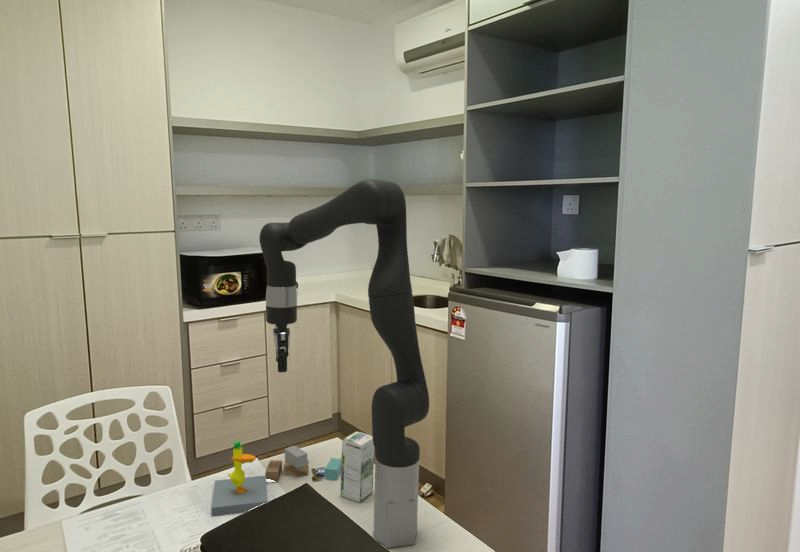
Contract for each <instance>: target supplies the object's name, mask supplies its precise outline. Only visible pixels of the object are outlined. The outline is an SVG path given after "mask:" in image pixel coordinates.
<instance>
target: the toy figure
mask: <svg viewBox="0 0 800 552" xmlns="http://www.w3.org/2000/svg"><path fill="white" fill-rule="evenodd" d="M232 450H233V452H232V453H233V454H232V457H231V458H230V460H231V461H233V465H234V470H233V472H232V473H231V472H230V473H229V472H228V473H227V475H228V476H229V479H232V483H233V484H234V485H235V486H236V487H237V491H236V493H239V494H243V493H244V492H245V491H246V488H245V487H241V486H242V484H243V483H244V481H245V477H246V476H245V475H246V473H245V471H244V470H243V469H242V468H243V467H242V466H243V463H249V464H250V463H253V462H254V461H256V458H257V457H256V456H255V455H253V454H249V453H243V444H241V441H239V440H237V441H233V446H232Z"/></svg>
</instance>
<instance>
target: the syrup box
mask: <svg viewBox="0 0 800 552" xmlns="http://www.w3.org/2000/svg"><path fill="white" fill-rule="evenodd" d="M341 459H342V463H341V472H340V493H339V495H340V496H341V497H342V498H344V499H345V498H346V499H348V500H352V501H354V502H357V503H361V502H362V501H364V500H365V499H366V498H367V497H368V496H370V495H371V494H372V493H374V492H373V489H374V471H375V467H374V466H375V447H374V444H373V438H372V435H371V434H367V433H366V432H365V433H364V432H362V431H354V432H353V433H351V434H350V435H348V436H346V437H345V438H343V439H342V441H341Z"/></svg>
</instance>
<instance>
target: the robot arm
mask: <svg viewBox="0 0 800 552" xmlns="http://www.w3.org/2000/svg"><path fill="white" fill-rule="evenodd" d="M355 224H366V225H373V226H374V225H375V226H376V231H377V239H378V240H377V241H378V249H377V251H378V252H377V257H376V260H375V263H374V265H373V269H372V272H371V275H370V278H369V282H368V285H367V287H368V288H367V297H368V304H369V313H370V319H371V323H372V325H373V327H374V329H375V331H376V333H377V334H378V335H379V336H380V338H381V340H382V341H383V342H384V344H385V345H386V347H387V349H388V350H389V351H390V353H391V356H392V358H393V362H394V366H395V373H396V381H394V382H392V383H391V382H390V383H388V384H385V385H382V386H380V387H378V388H377V389H376V390H375V391H374V393H373V396H372V399H371V430H372V432H371V434H372V435H371V436H372V438H373V444H374V453H375V456H374V466H375V467H374V492H373V493H374V495H373V496H374V497H373V498H374V499H373V500H374V501H373V503H374V504H373V537H374V538H375V540H376V541H377V542H378V543H379V544H382V545H384V547H385V548H386V549H390V548H392V549H393V548H397V547H405V546H411V545H415V544H416V538H417V534H418V531H417V530H418V511H419V509H418V507H419V503H418V502H419V501H418V500H419V482H420V481H419V478H420V477H419V476H420V474H419V473H420V456H421V453H420V452H421V449H420V445H419V443H418V442H417V441H416V440H415V439H413V438H410V437H408V436H405V435H406V433H405V432H406V431H405V428H407V427H408V426H412V425H414V424H417V423H420V422H422V421H423V420H425V419H426V417H427V415H428V414H429V409H430V396H429V390H428V385H427V381H426V375H425V371H424V368H423V367H424V366H423V362H422V357H421V351H420V347H419V346H420V345H419V338H418V333H417V332H418V330H417V324H416V314H415V304H414V303H415V302H414V297H413V296H414V295H413V294H414V293H413V288H412V282H411V273H410V272H411V271H410V264H409V263H410V262H409V253H408V240H407V239H408V234H407V228H408V227H407V225H408V224H407V202H406V198H405V193H404V191H403V190H402V187H401V186H400V185H399V184H397V183H396V182H393V181H388V180H381V179H373V178H369V179H363V180H360V181H357V182H356V183H354V184H353V185H351V186H350V187H349V188H347V189H346V190H344V191H343V192H341V193H339V194H338V195H337V196H335V197H333V198H332V199H331V200H329V201H327V202H325V203H323V204H321V205H319V206H317V207H315V208H312V209H309V210H306V211H304V212H302V213H299V214H297V215H295V216H294V217H292V218H291V219H290V221H289V222H268V223H265V224H264V225H263V226H262V228H261V230H260V232H259V244H260V248H261V252H262V256H263V259H264V264H265V266H266V290H265V291H266V292H265V322H266V323H268V324H270V325H275V326H274V327H275V328H273V329H272V330H273V331H272V333H273V334H272V335H273V342H274V348H275V357H276V358H275V361H276V362H277V372H279V373H287V372H288V357H289V355H290V353H289V349H290V337H291V330H290V328H289V327H288V325H292V324H295V323H297V321H298V292H297V266H296V264H295V263H294V262H293V261H290V260H285V259H284V256H283V253H282V252H291V251H292V252H293V251H297V250H300V249H301V248H304V247H305V246H307V245H308V244H310V243H312V242H316V241H318V240H322V239H324V238H327V237H328V236H330V235H331V234H333V233H334V232H335V231H336V230H337V229H339V228H340V227H343V226H347V225H355Z"/></svg>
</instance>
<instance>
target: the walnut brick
mask: <svg viewBox="0 0 800 552" xmlns="http://www.w3.org/2000/svg"><path fill="white" fill-rule="evenodd" d="M282 472H283V460H282V459H281V460H280V459H278V460H277V459H276V460H274V459H273V460H270V461H269V463H268V464H267V467H266V470H265V472H264V473H265V475H266V479H271V480H274V481H276V482H277V483H279V479H280V477H281V474H282ZM265 475H264V476H265ZM276 482H275V483H276Z"/></svg>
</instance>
